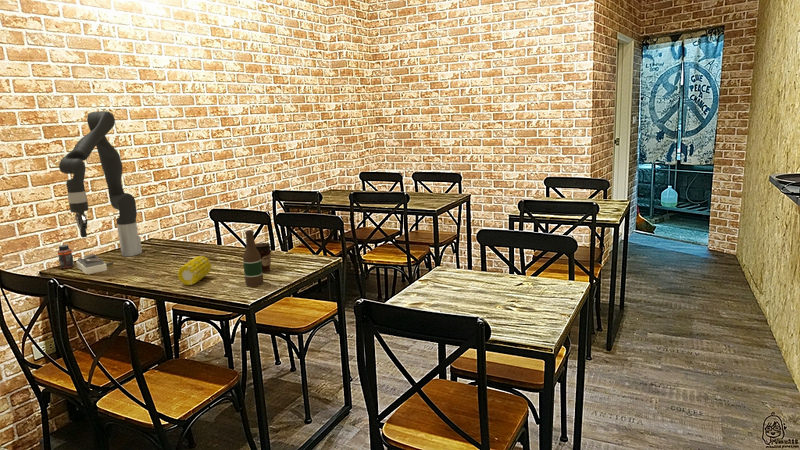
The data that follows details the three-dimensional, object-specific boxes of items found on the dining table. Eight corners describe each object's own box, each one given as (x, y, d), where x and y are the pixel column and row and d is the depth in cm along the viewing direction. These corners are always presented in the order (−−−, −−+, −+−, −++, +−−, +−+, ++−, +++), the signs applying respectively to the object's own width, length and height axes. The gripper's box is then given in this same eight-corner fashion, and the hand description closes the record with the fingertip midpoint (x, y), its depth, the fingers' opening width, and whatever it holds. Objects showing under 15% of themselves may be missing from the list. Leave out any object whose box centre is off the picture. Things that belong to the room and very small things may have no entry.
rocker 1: (93, 255, 267) (92, 253, 267) (96, 257, 264) (94, 254, 264) (80, 260, 264) (79, 258, 263) (83, 262, 261) (82, 259, 260)
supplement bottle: (77, 265, 267) (73, 243, 265) (69, 269, 262) (64, 247, 259) (66, 265, 268) (62, 243, 265) (57, 269, 262) (53, 247, 260)
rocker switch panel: (107, 260, 274) (106, 252, 273) (118, 267, 261) (116, 258, 260) (77, 266, 265) (75, 258, 264) (86, 274, 252) (84, 265, 251)
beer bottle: (247, 281, 236) (241, 229, 230) (265, 280, 236) (260, 228, 231) (243, 287, 228) (238, 233, 223) (262, 286, 229) (256, 232, 223)
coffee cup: (277, 269, 252) (274, 242, 249) (267, 274, 244) (264, 247, 241) (261, 267, 255) (258, 241, 252) (251, 273, 247) (248, 246, 244)
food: (194, 288, 230) (191, 265, 227) (173, 285, 234) (170, 263, 232) (218, 276, 244) (215, 255, 241) (198, 274, 248) (195, 253, 246)
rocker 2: (98, 261, 261) (98, 258, 261) (100, 263, 258) (101, 260, 258) (84, 262, 257) (84, 259, 257) (87, 263, 254) (87, 260, 254)
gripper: (90, 201, 247) (96, 237, 251) (83, 198, 256) (89, 233, 260) (72, 204, 242) (78, 240, 246) (65, 200, 251) (71, 236, 255)
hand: (84, 236), depth 253 cm, fingers closed
